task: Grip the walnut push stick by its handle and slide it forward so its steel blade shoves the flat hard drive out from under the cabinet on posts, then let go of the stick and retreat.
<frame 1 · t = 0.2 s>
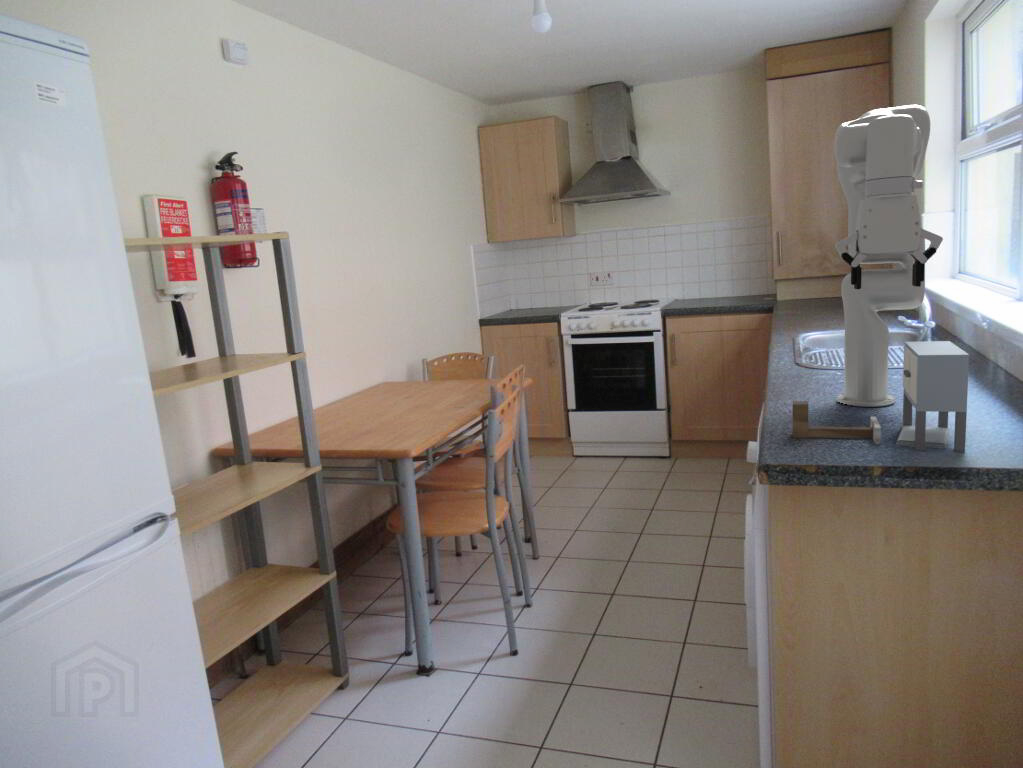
hand: (886, 287, 135), 31 cm above the countertop, tool pointing down, fingers open, 9 cm apart
hard drive: (922, 442, 147), on the countertop
cabinet: (931, 438, 146), on the countertop
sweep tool: (800, 435, 155), on the countertop
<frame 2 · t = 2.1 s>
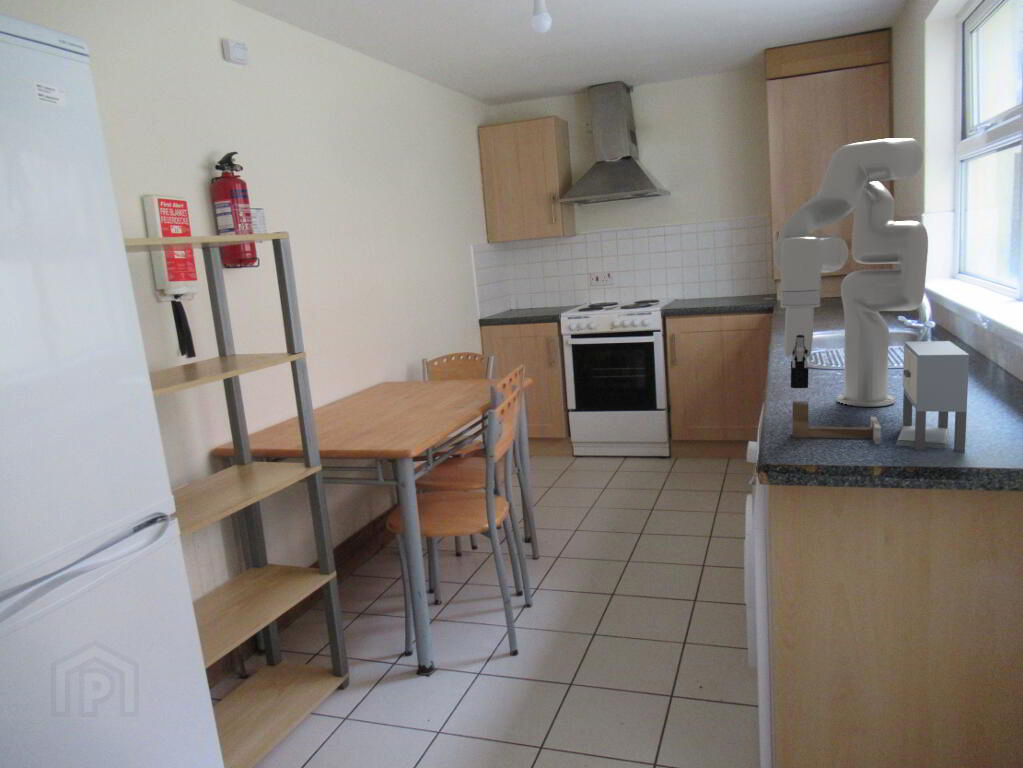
hand: (799, 383, 152), 11 cm above the countertop, tool pointing down, fingers open, 9 cm apart
nothing on the countertop moved.
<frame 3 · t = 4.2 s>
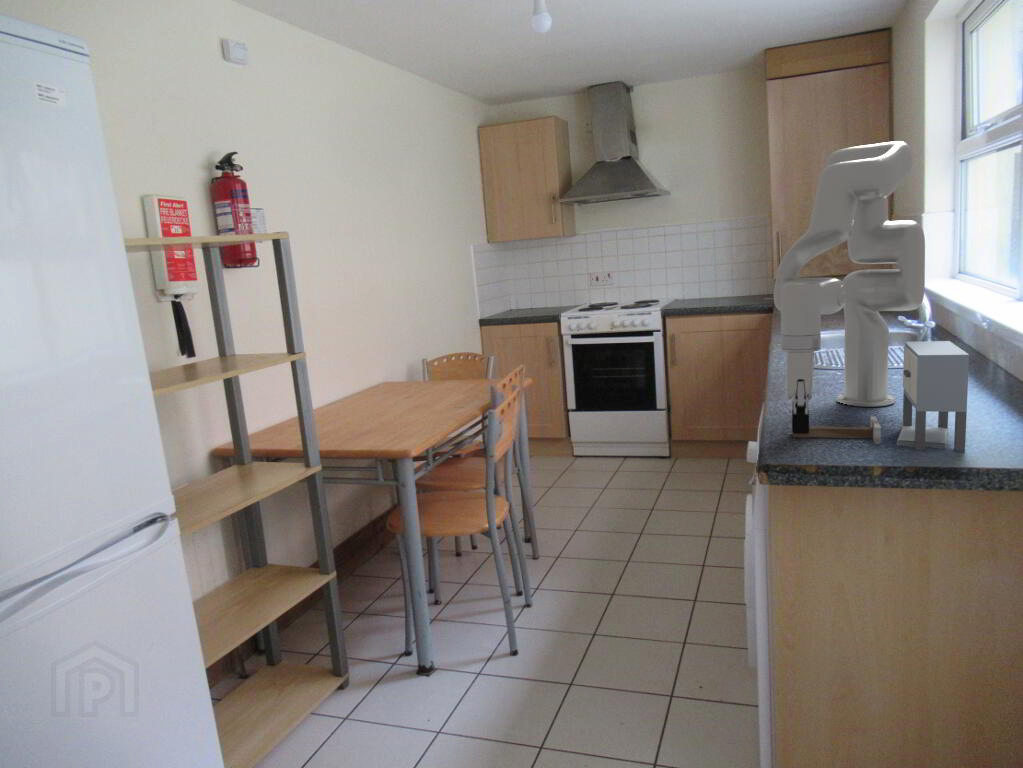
hand: (800, 430, 155), 1 cm above the countertop, tool pointing down, fingers closed on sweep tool, 3 cm apart
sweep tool: (800, 435, 155), on the countertop, touching gripper
everything else where it was.
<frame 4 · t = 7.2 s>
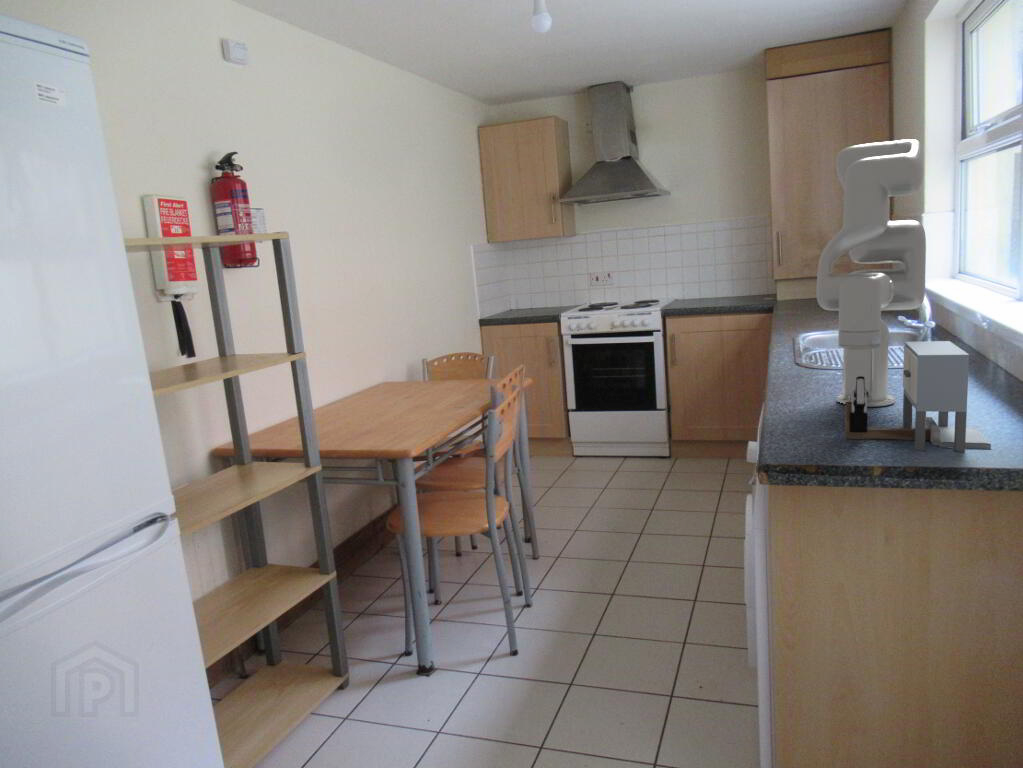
hand: (857, 428, 151), 2 cm above the countertop, tool pointing down, fingers closed on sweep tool, 3 cm apart
hard drive: (958, 443, 145), on the countertop
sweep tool: (853, 437, 151), on the countertop, touching gripper
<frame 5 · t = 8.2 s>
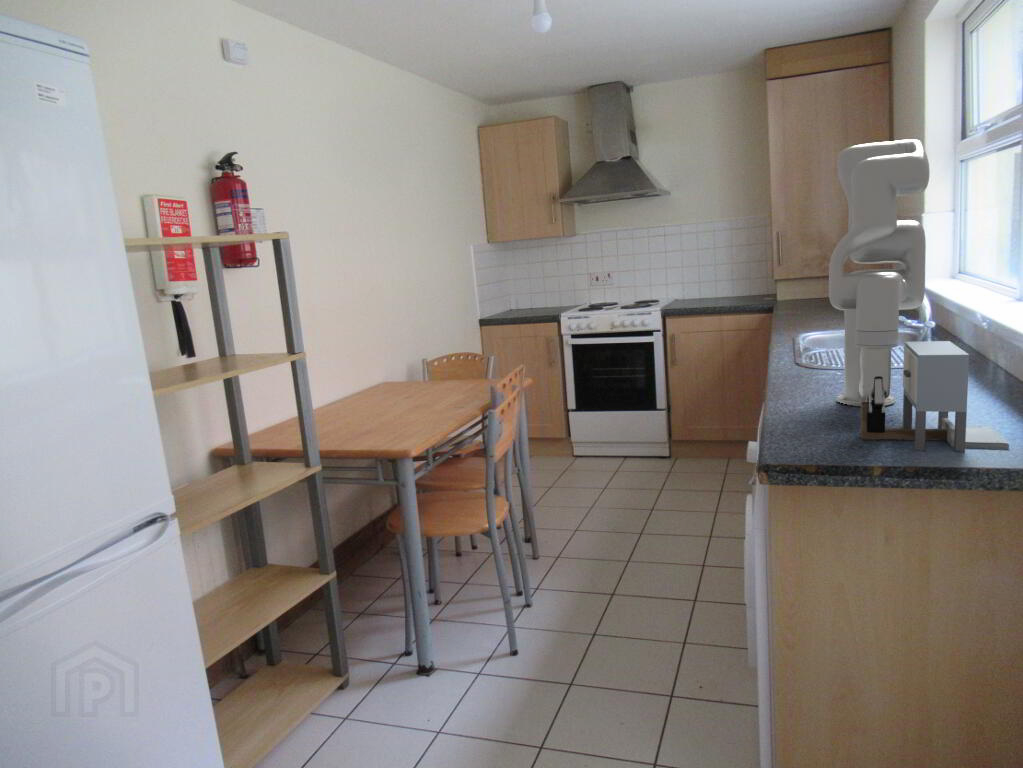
hand: (874, 429, 149), 2 cm above the countertop, tool pointing down, fingers closed on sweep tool, 3 cm apart
hard drive: (975, 443, 144), on the countertop
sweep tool: (869, 437, 150), on the countertop, touching gripper
when the fingers open (2 cm above the countertop, at t = 9.4 s): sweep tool stays where it is, on the countertop.
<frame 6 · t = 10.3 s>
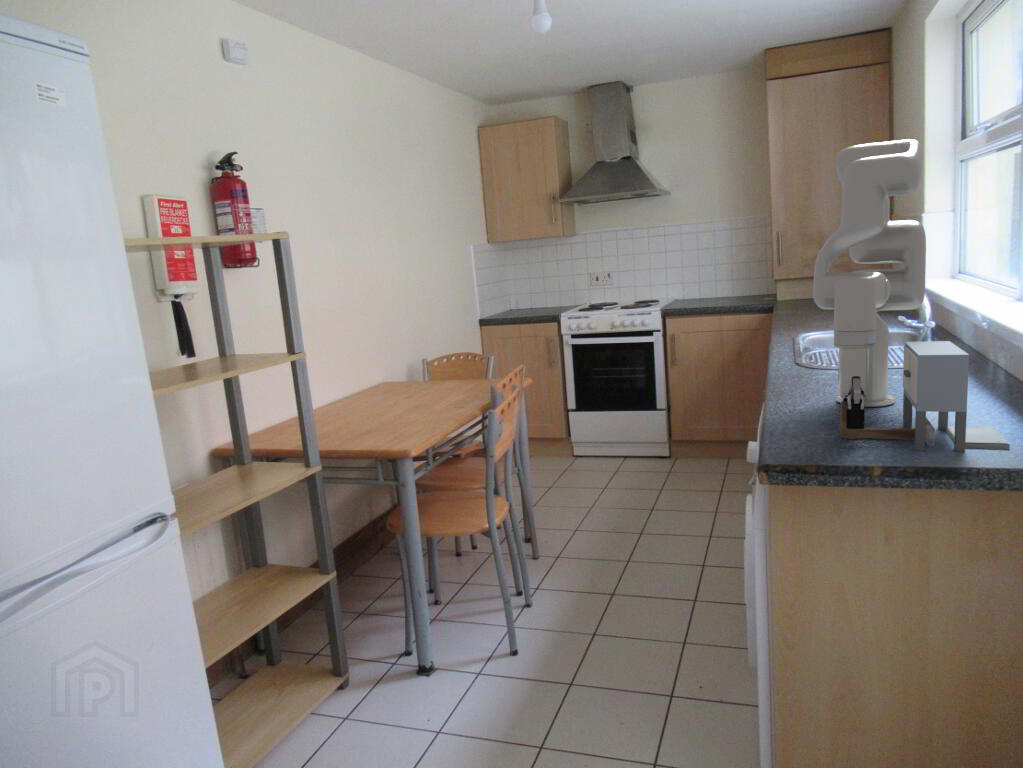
hand: (853, 422, 151), 3 cm above the countertop, tool pointing down, fingers open, 9 cm apart
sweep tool: (848, 436, 152), on the countertop
everything else where it was.
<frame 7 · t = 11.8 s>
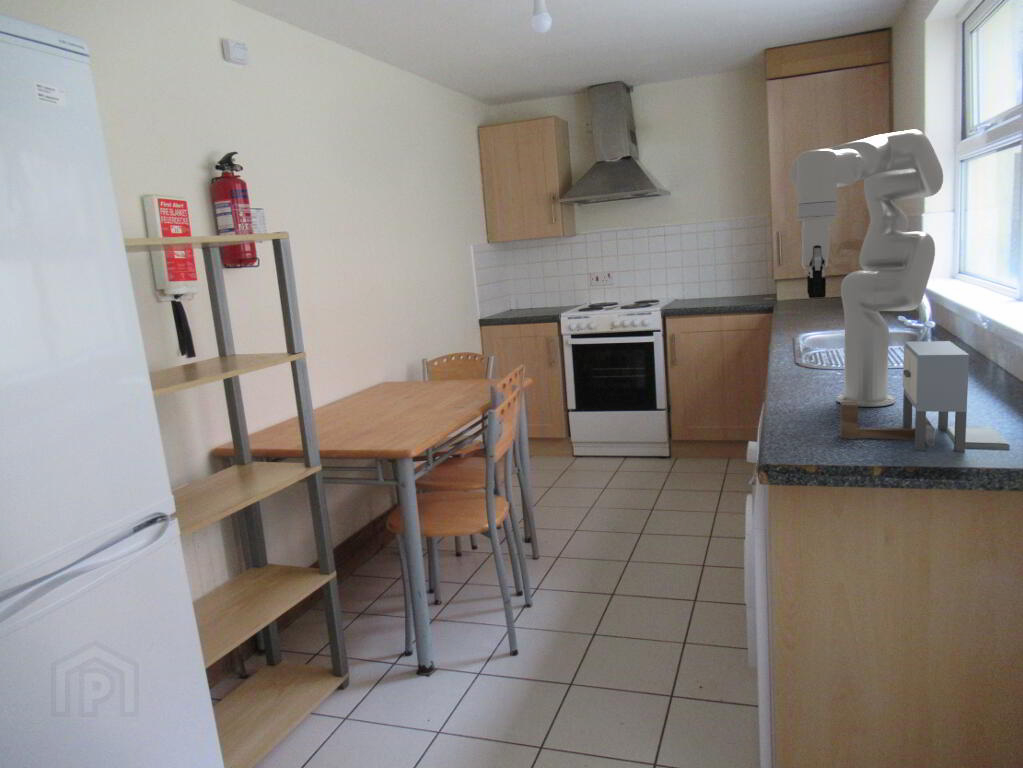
hand: (816, 295, 157), 28 cm above the countertop, tool pointing down, fingers open, 9 cm apart
nothing on the countertop moved.
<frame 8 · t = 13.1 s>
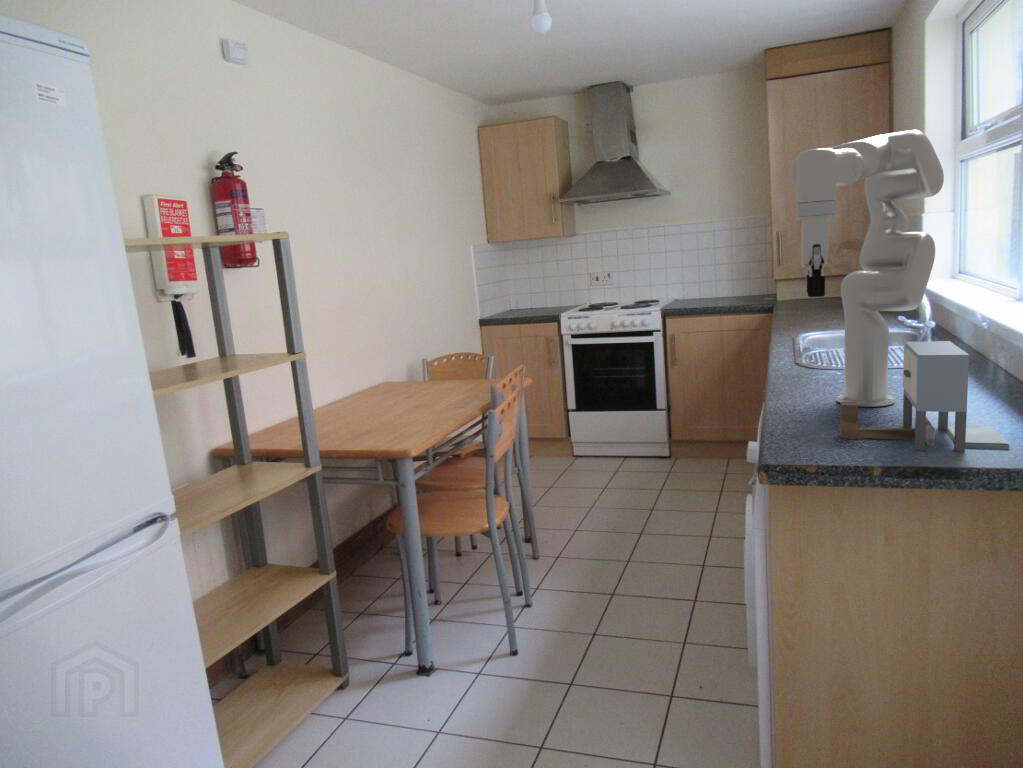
hand: (815, 294, 157), 28 cm above the countertop, tool pointing down, fingers open, 9 cm apart
nothing on the countertop moved.
at the end: hard drive inside the target area (4.4 cm from its centre), on the countertop; the gripper is holding nothing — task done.
